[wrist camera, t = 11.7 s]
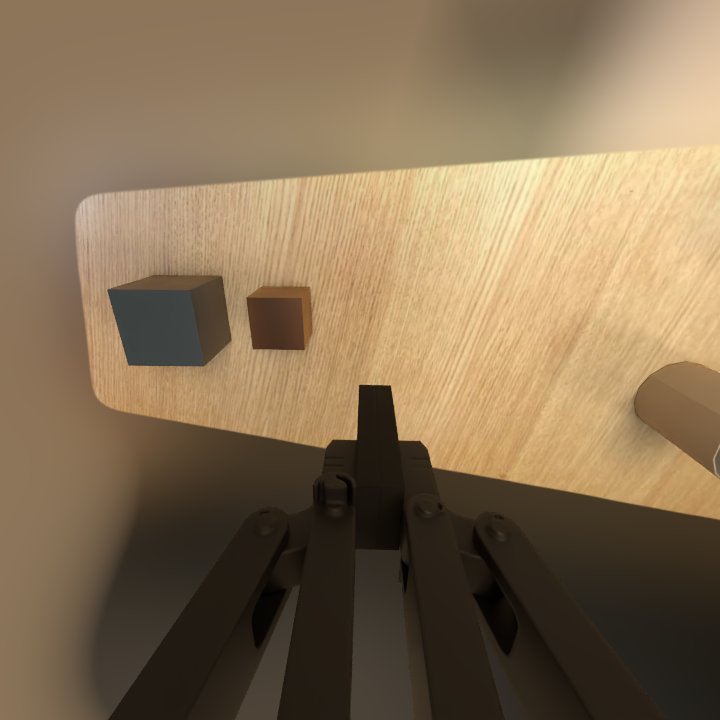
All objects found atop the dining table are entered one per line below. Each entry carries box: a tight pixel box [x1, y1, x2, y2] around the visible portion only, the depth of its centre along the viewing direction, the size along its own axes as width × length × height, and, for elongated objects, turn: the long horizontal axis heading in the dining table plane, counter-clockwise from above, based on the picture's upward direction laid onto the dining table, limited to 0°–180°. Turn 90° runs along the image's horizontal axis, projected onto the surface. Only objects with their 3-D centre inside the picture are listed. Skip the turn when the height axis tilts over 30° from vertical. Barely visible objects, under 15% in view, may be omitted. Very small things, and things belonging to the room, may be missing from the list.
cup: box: [634, 362, 720, 479], centre depth 35 cm, size 8×8×10 cm
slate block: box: [107, 275, 231, 366], centre depth 34 cm, size 7×7×7 cm
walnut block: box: [247, 287, 312, 350], centre depth 34 cm, size 5×5×5 cm
